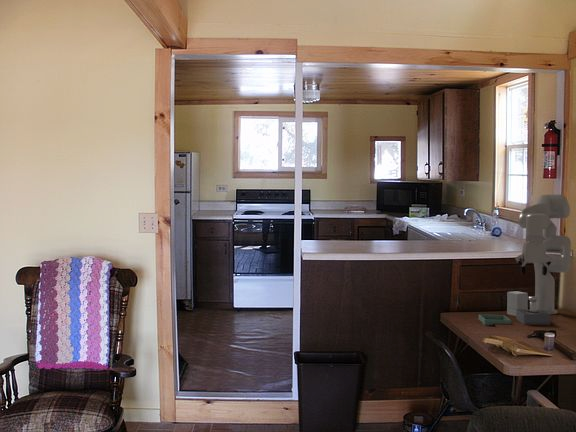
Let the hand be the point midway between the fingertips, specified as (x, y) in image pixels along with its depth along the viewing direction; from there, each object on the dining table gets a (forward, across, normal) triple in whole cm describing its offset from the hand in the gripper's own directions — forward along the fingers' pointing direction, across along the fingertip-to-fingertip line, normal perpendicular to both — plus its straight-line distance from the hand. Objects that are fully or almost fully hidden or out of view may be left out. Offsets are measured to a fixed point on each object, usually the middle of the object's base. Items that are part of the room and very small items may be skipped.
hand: (533, 274), depth 268 cm
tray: (+24, +18, -1) cm, 30 cm away
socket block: (+24, 0, 0) cm, 24 cm away
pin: (+23, 0, 0) cm, 23 cm away
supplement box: (+24, +2, -18) cm, 30 cm away
